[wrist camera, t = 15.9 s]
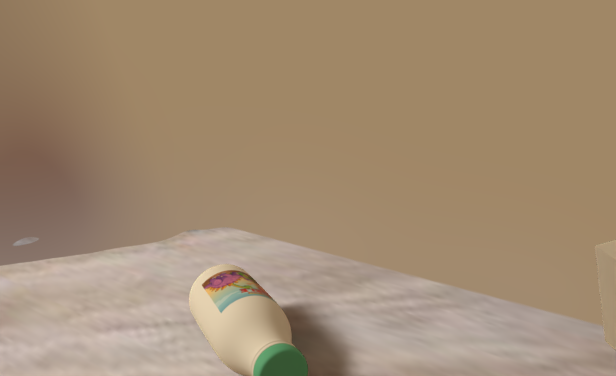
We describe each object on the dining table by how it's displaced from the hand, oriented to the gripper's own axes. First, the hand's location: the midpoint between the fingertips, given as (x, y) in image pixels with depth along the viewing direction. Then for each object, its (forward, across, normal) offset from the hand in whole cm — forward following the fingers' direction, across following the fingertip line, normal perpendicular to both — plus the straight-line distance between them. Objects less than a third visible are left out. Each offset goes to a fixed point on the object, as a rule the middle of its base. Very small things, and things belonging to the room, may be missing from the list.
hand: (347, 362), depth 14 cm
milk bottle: (+49, -12, -20) cm, 54 cm away
